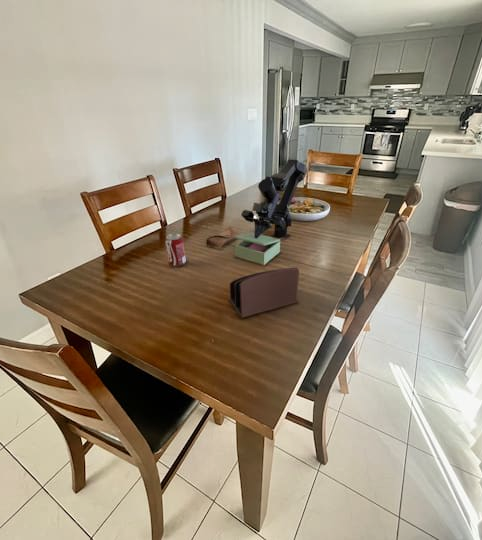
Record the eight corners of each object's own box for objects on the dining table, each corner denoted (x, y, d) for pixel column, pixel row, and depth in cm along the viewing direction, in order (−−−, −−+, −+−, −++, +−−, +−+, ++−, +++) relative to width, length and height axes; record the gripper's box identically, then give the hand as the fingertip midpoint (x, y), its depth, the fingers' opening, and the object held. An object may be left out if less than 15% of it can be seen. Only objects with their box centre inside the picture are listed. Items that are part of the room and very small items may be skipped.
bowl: (336, 210, 173) (338, 197, 169) (317, 227, 151) (319, 212, 147) (289, 202, 187) (290, 190, 183) (266, 216, 165) (267, 203, 161)
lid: (264, 245, 112) (264, 243, 112) (234, 237, 119) (234, 236, 119) (280, 241, 124) (280, 239, 124) (252, 234, 130) (252, 232, 130)
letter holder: (297, 302, 97) (300, 265, 89) (241, 319, 90) (240, 280, 83) (282, 287, 104) (284, 252, 97) (230, 301, 98) (228, 264, 90)
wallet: (254, 246, 131) (254, 241, 130) (273, 252, 126) (274, 246, 125) (245, 252, 126) (245, 247, 125) (265, 258, 121) (265, 253, 120)
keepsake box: (263, 266, 117) (264, 253, 114) (235, 257, 124) (235, 245, 121) (279, 253, 127) (280, 241, 124) (252, 245, 133) (252, 234, 131)
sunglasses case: (220, 249, 130) (213, 235, 128) (210, 252, 134) (204, 239, 133) (243, 235, 142) (237, 222, 141) (233, 239, 147) (227, 226, 146)
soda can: (189, 260, 122) (185, 234, 116) (180, 268, 116) (176, 241, 110) (174, 258, 124) (170, 232, 118) (166, 266, 118) (161, 238, 112)
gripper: (243, 190, 119) (228, 224, 117) (284, 197, 110) (269, 234, 108) (253, 204, 129) (239, 236, 127) (292, 211, 120) (278, 246, 118)
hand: (255, 237), depth 119 cm, fingers closed, pressing on lid
